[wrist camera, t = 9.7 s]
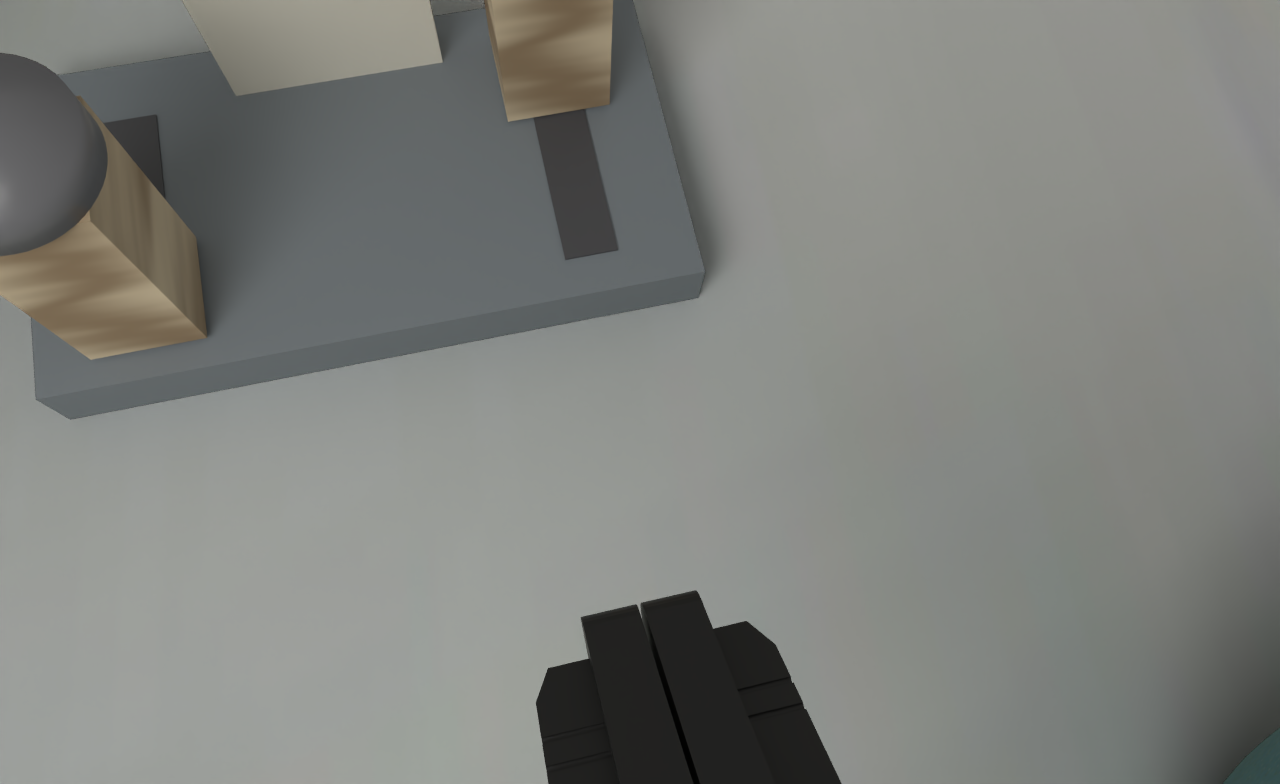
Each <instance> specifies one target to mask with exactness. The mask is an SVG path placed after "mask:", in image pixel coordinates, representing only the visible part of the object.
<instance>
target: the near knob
mask: <svg viewBox="0 0 1280 784" xmlns="http://www.w3.org/2000/svg"><path fill="white" fill-rule="evenodd" d="M0 295H1V296H3V297H4V298H5V299H7V300H8V301H10V302H11V303H12V304H14V305H15V306H16V307H18V308H19V309H21V310H22V311H23V312H25V313H26V314H28V315H29V316H30V317H32V318H33V319H35V320H36V321H37V322H39V323H40V324H42V325H43V326H44V327H46V328H47V329H48V330H50V331H51V332H53V333H54V334H55V335H57V336H58V337H60V338H61V339H62V340H64V341H65V342H67V343H68V344H69V345H71V346H72V347H74V348H75V349H76V350H78V351H79V352H80V353H82V354H83V355H85V356H86V357H87V358H89V359H90V360H92V359H98V358H103V357H108V356H114V355H119V354H124V353H130V352H135V351H140V350H146V349H151V348H156V347H161V346H167V345H172V344H177V343H183V342H188V341H193V340H199V339H204V338H207V330H206V321H205V312H204V303H203V294H202V285H201V276H200V267H199V258H198V249H197V240H196V236H195V235H194V234H193V233H192V232H191V230H190V229H189V228H188V227H187V225H186V224H185V223H184V222H183V221H182V219H181V218H180V217H179V216H178V214H177V213H176V212H175V211H174V210H173V208H172V207H171V206H170V205H169V203H168V202H167V201H166V200H165V199H164V197H163V196H162V195H161V194H160V192H159V191H158V190H157V189H156V188H155V186H154V185H153V184H152V183H151V181H150V180H149V179H148V178H147V176H146V175H145V174H144V173H143V172H142V170H141V169H140V168H139V167H138V165H137V164H136V163H135V162H134V161H133V159H132V158H131V157H130V156H129V154H128V153H127V152H126V151H125V150H124V148H123V147H122V146H121V145H120V143H119V142H118V141H117V140H116V139H115V137H114V136H113V135H112V134H111V132H110V131H109V130H108V129H107V128H106V126H105V125H104V124H103V123H102V121H101V120H100V119H99V118H98V117H97V115H96V114H95V113H94V112H93V110H92V109H91V108H90V107H89V106H88V104H87V103H86V102H85V101H84V99H83V98H82V97H81V96H75V95H74V94H73V92H72V91H71V90H70V89H69V88H68V86H67V85H66V84H65V83H64V82H63V81H62V80H61V79H60V78H59V77H58V76H57V75H56V74H55V73H54V72H52V71H51V70H50V69H48V68H47V67H45V66H43V65H41V64H39V63H38V62H36V61H33V60H30V59H28V58H25V57H21V56H17V55H13V54H4V53H0Z"/></svg>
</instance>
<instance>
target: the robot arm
mask: <svg viewBox="0 0 1280 784" xmlns="http://www.w3.org/2000/svg"><path fill="white" fill-rule="evenodd" d="M641 615H642V618H641ZM641 615H640V612H639V609H638V606H637V605H636V604H635V605H631V606H627V607H623V608H618V609H614V610H610V611H605V612H601V613H597V614H592V615H588V616H584V617H581V622H582V627H583V632H584V637H585V642H586V648H587V653H588V658H589V659H585V660H581V661H577V662H573V663H568V664H564V665H560V666H556V667H552V668H548V670H547V673H546V676H545V678H544V681H543V684H542V687H541V690H540V693H539V696H538V698H537V701H536V706H537V712H538V719H539V725H540V732H541V738H542V743H543V751H544V757H545V764H546V769H547V777H548V783H549V784H841V782H840V780H839V778H838V775H837V773H836V771H835V769H834V767H833V765H832V763H831V761H830V759H829V756H828V754H827V752H826V750H825V748H824V746H823V744H822V742H821V740H820V737H819V735H818V733H817V731H816V729H815V727H814V725H813V723H812V721H811V718H810V716H809V714H808V712H807V710H806V709H804V706H803V702H802V699H801V697H800V695H799V693H798V691H797V689H796V687H795V685H794V683H792V681H791V676H790V674H789V672H788V670H787V668H786V666H785V664H784V661H783V659H782V657H781V655H780V653H779V651H778V649H777V647H776V645H775V644H774V643H773V642H772V641H770V640H769V639H768V638H767V637H765V636H764V635H763V634H762V633H761V632H759V631H758V630H757V629H756V628H754V627H753V626H752V625H751V624H750V623H748V622H747V621H745V622H740V623H736V624H732V625H728V626H723V627H719V628H715V629H713V628H712V625H711V623H710V620H709V618H708V615H707V613H706V610H705V608H704V605H703V603H702V600H701V598H700V596H699V594H698V592H697V591H696V590H695V591H690V592H686V593H682V594H677V595H673V596H669V597H665V598H660V599H656V600H652V601H647V602H643V603H641Z"/></svg>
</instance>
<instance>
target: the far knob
mask: <svg viewBox="0 0 1280 784" xmlns="http://www.w3.org/2000/svg"><path fill="white" fill-rule="evenodd" d="M484 3H485V9H486V16H487V23H488V30H489V36H490V41H491V46H492V50H493V55H494V59H495V64H496V69H497V73H498V78H499V83H500V87H501V92H502V96H503V101H504V106H505V110H506V115H507V120H508V122H510V121H516V120H522V119H528V118H533V117H539V116H545V115H551V114H557V113H563V112H569V111H574V110H580V109H586V108H592V107H598V106H604V105H609V104H610V75H611V46H612V17H613V0H484Z"/></svg>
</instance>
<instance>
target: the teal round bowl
mask: <svg viewBox="0 0 1280 784" xmlns="http://www.w3.org/2000/svg"><path fill="white" fill-rule="evenodd" d="M1223 784H1280V728H1279V729H1277V730H1276V731H1275V732H1274V733H1273V734H1271V735H1270V736H1269V737H1268V738H1266V739H1265V740H1264V741H1263V742H1262V743H1260V744H1259V745H1258V746H1257V747H1256V748H1255V749H1254V750H1253V751H1252V752H1251V753H1249V754H1248V755H1247V756H1246V757H1245V758H1244V759H1243V760H1242V762H1241V763H1240V764H1239V765H1238V766H1237V767H1236V768H1235V769H1234V771H1233V772H1232V773H1231V774H1230V775H1229V777H1228V778H1227V779H1226V780H1225V781H1224V783H1223Z"/></svg>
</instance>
